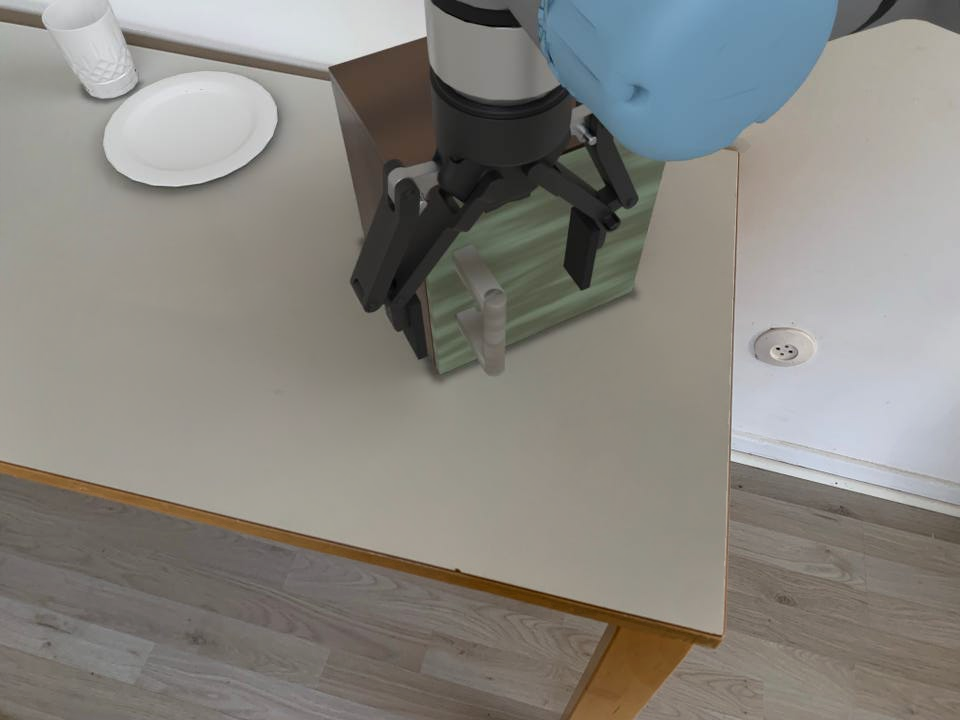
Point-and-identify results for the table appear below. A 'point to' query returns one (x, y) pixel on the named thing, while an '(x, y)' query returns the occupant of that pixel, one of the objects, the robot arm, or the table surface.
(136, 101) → the plate
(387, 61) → the cupboard
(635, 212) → the cupboard door
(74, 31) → the white cup
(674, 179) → the table surface
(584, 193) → the robot arm
